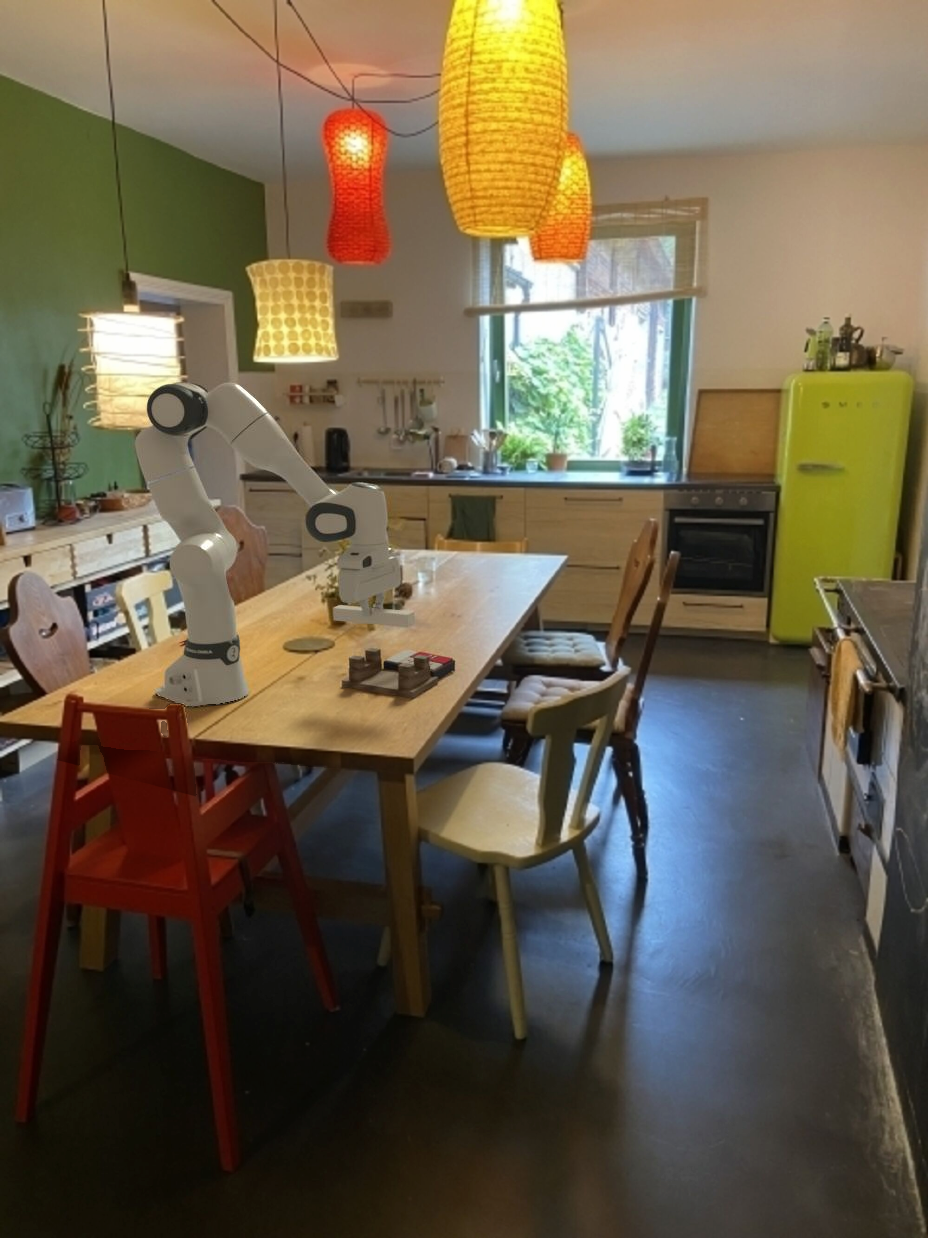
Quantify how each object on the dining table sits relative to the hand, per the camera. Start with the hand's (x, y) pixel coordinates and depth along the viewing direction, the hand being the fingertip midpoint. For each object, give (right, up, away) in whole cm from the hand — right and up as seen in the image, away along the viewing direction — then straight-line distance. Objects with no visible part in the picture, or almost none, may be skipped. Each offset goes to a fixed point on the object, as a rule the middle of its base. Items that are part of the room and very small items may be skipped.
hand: (372, 613), depth 204 cm
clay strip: (0, -2, 0) cm, 2 cm away
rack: (+3, -17, +11) cm, 21 cm away
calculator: (+10, -15, +20) cm, 27 cm away
